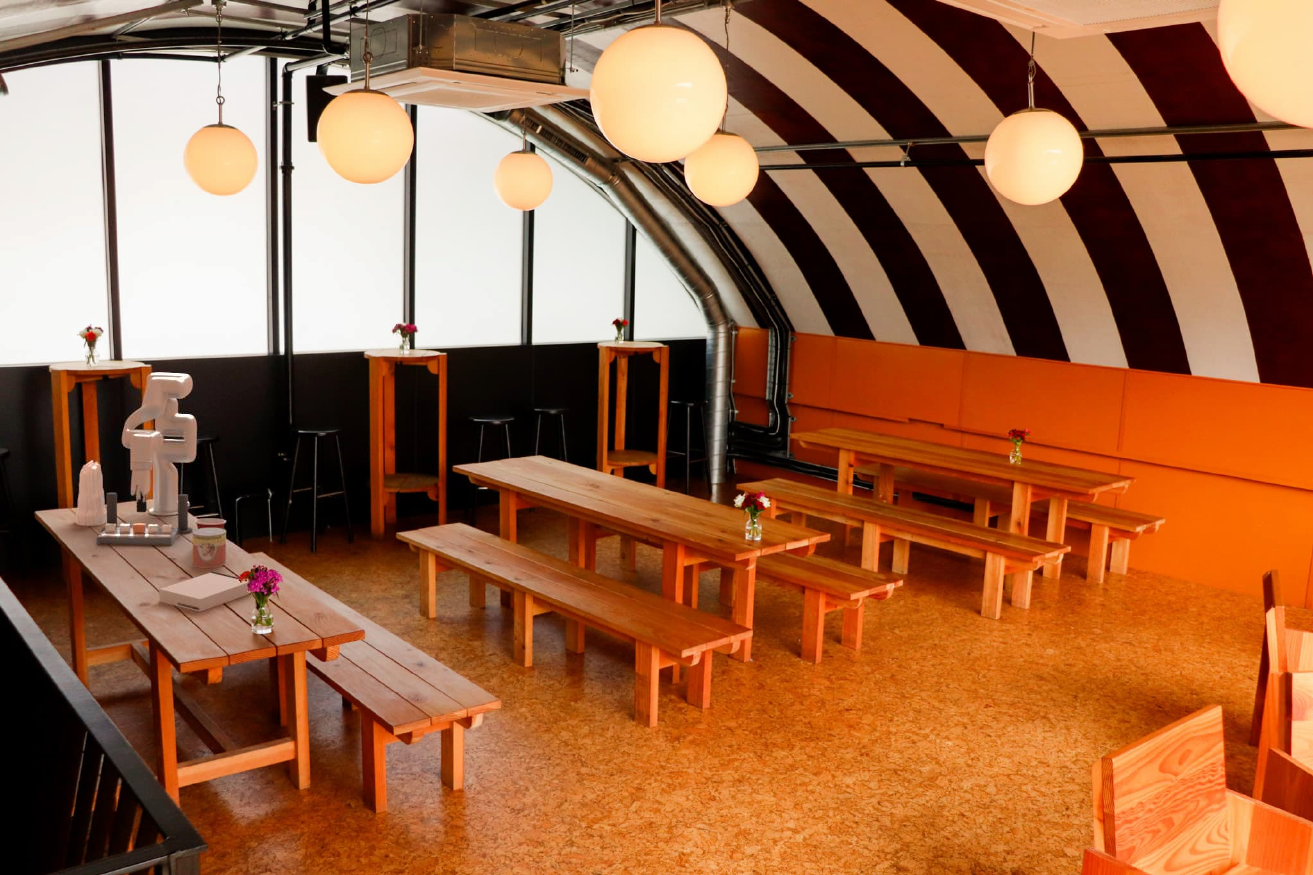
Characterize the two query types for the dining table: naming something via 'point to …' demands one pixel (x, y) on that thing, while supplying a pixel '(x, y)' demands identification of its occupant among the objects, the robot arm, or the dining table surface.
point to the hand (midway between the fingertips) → (141, 511)
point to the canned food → (209, 547)
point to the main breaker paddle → (139, 527)
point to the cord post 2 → (183, 514)
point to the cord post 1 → (111, 509)
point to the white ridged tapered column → (91, 496)
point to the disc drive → (203, 591)
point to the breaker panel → (138, 535)
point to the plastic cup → (210, 523)
